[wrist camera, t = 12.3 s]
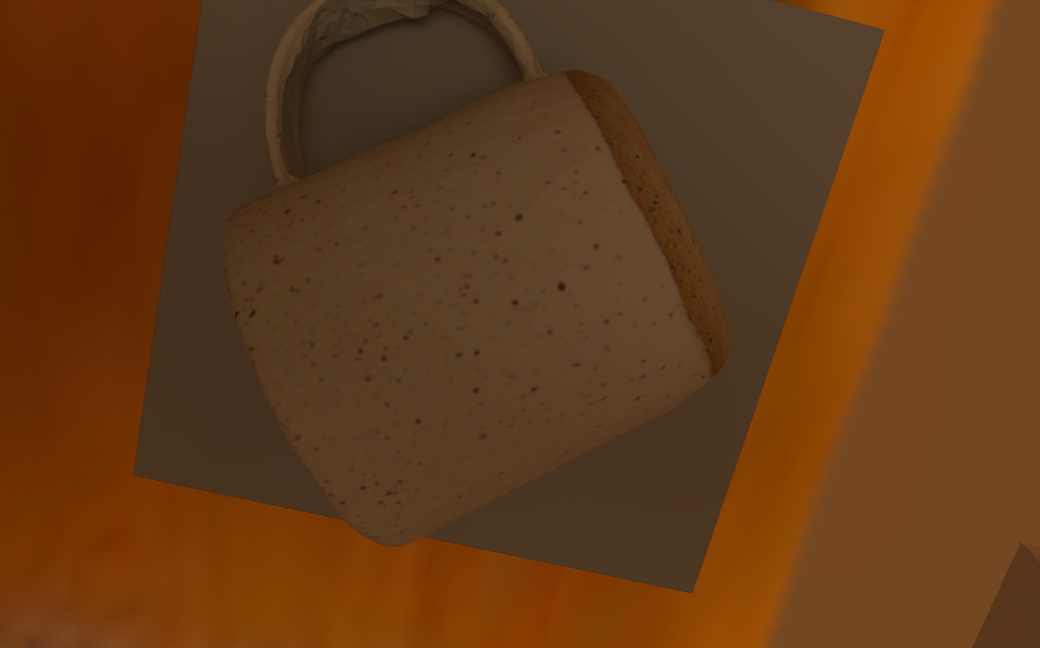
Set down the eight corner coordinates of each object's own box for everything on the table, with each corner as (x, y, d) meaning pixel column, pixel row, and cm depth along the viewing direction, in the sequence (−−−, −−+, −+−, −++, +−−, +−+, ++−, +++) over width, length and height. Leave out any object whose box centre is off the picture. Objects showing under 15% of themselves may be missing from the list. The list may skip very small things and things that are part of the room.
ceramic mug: (710, 314, 24) (796, 438, 17) (417, 455, 25) (379, 629, 18) (513, -103, 22) (514, -170, 14) (193, 73, 23) (41, 95, 15)
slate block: (200, 389, 31) (133, 475, 26) (282, -114, 27) (223, -147, 21) (659, 490, 33) (692, 593, 27) (807, 25, 28) (885, 30, 23)
